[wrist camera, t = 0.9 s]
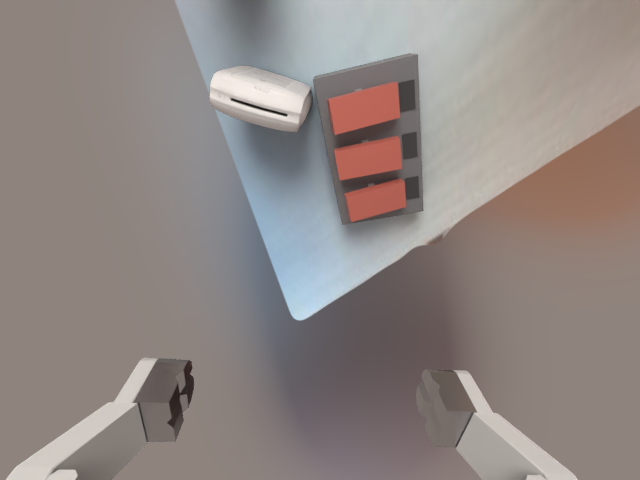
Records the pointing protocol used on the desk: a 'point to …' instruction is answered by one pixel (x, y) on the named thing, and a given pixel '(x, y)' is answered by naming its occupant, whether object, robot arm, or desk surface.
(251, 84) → the photo printer
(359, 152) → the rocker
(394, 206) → the block
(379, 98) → the block
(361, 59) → the desk surface
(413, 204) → the rocker switch panel
